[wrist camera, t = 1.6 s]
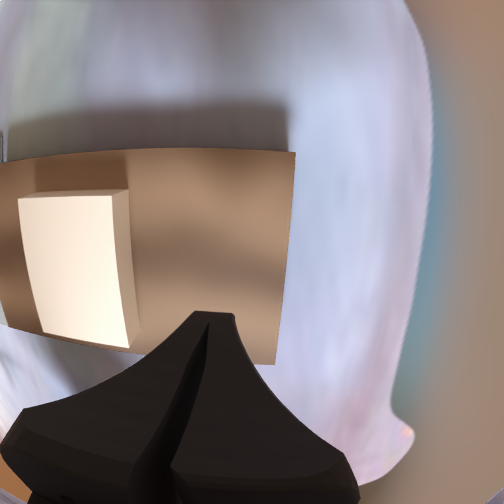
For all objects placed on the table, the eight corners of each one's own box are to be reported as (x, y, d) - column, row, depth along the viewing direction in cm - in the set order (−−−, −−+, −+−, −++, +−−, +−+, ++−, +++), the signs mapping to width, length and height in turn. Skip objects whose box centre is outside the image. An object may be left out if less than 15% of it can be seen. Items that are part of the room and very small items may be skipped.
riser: (272, 336, 20) (274, 364, 17) (28, 309, 20) (8, 326, 17) (288, 151, 16) (295, 152, 14) (6, 162, 16) (-21, 167, 13)
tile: (140, 328, 17) (129, 348, 15) (58, 315, 17) (43, 332, 15) (128, 189, 14) (111, 195, 12) (38, 192, 14) (17, 198, 12)
